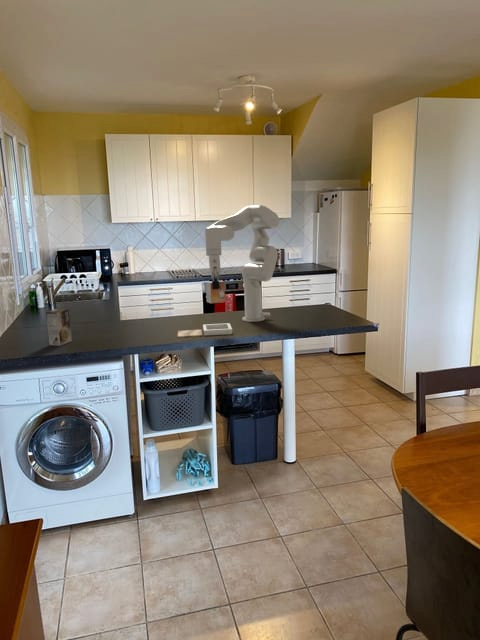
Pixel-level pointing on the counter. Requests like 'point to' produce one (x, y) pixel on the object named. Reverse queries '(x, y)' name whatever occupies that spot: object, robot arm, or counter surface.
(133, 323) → the counter surface
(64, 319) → the coffee box
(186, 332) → the cork pad
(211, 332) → the square frame
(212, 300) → the small box
